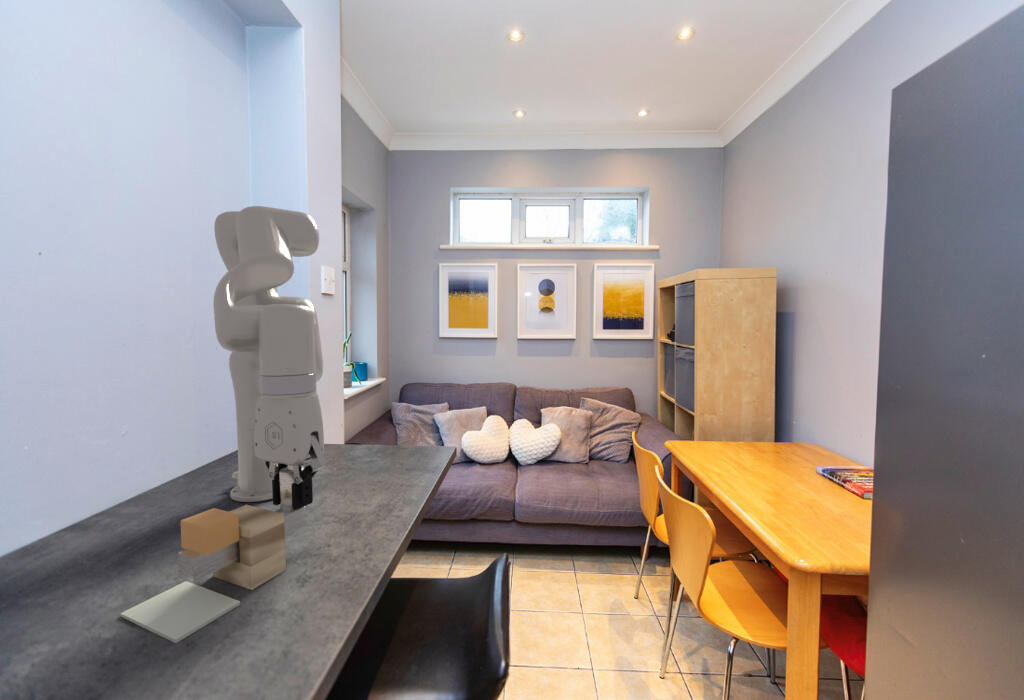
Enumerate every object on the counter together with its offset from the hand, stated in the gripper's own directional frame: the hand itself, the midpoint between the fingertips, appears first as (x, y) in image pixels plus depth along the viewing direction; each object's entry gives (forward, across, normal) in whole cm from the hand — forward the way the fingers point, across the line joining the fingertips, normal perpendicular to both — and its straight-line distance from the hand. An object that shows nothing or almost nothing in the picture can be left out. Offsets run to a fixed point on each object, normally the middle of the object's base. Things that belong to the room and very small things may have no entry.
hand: (293, 502), depth 65 cm
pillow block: (+7, 0, -7) cm, 10 cm away
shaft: (+4, 0, -7) cm, 8 cm away
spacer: (+1, 0, -12) cm, 12 cm away
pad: (+7, 0, -16) cm, 17 cm away
